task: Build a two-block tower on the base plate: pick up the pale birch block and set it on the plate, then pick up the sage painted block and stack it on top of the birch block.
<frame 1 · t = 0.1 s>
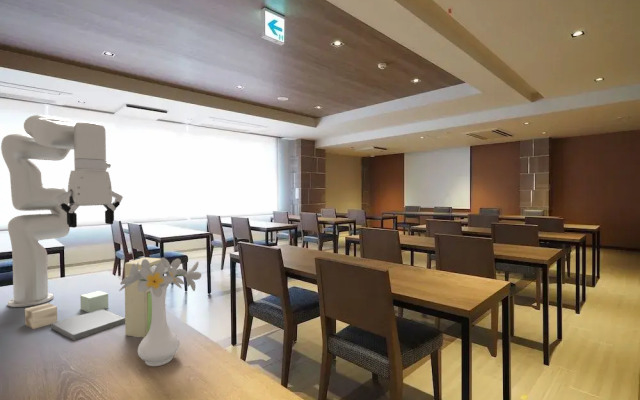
hand: (91, 225, 97), 31 cm above the table, tool pointing down, fingers open, 9 cm apart
sage block: (94, 308, 116), on the table
flower vase: (160, 359, 83), on the table
base plate: (89, 325, 102), on the table
toy refrigerator: (145, 331, 99), on the table
birch block: (41, 323, 103), on the table
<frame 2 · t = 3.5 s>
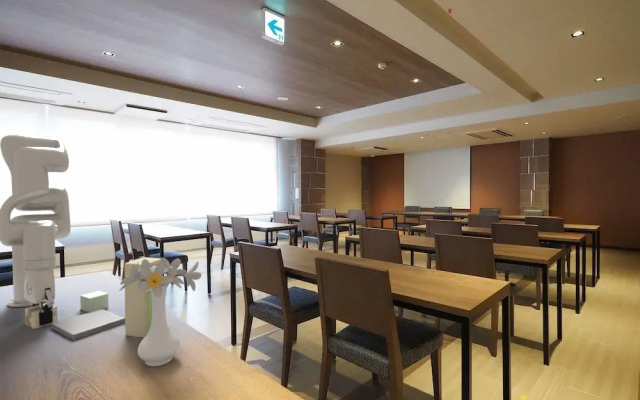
hand: (41, 321, 103), 1 cm above the table, tool pointing down, fingers closed on birch block, 6 cm apart
birch block: (41, 323, 103), on the table, touching gripper
everything else where it was.
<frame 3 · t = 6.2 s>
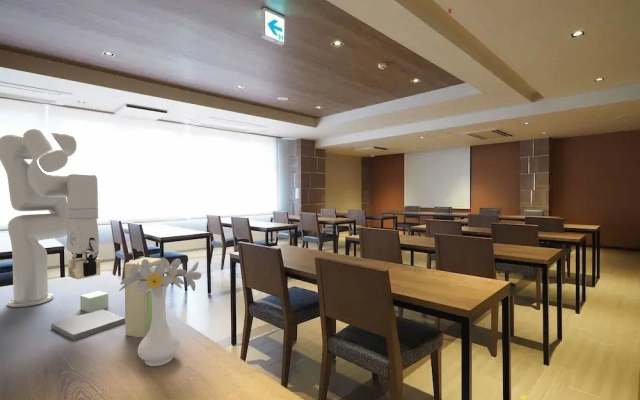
hand: (84, 273, 101), 16 cm above the table, tool pointing down, fingers closed on birch block, 6 cm apart
birch block: (84, 275, 101), point 15 cm above the table, touching gripper
everything else where it was.
when the fingers open (4 cm above the table, at t = 9.1 s): birch block drops 1 cm, resting on base plate.
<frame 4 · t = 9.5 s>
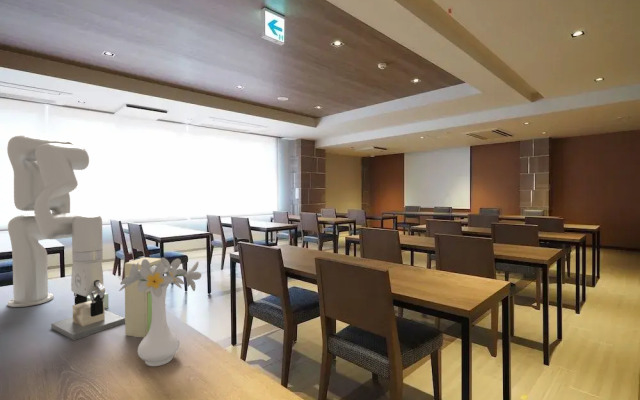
hand: (88, 311, 102), 4 cm above the table, tool pointing down, fingers open, 9 cm apart
birch block: (88, 320, 102), point 1 cm above the table, touching base plate
everything else where it was.
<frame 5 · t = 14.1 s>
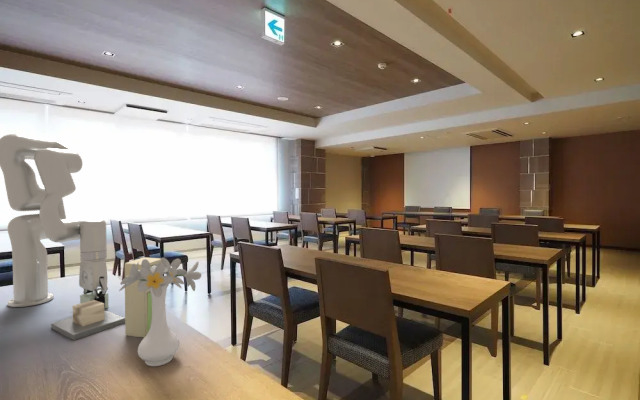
hand: (94, 306, 116), 1 cm above the table, tool pointing down, fingers closed on sage block, 6 cm apart
sage block: (94, 308, 116), on the table, touching gripper
everything else where it was.
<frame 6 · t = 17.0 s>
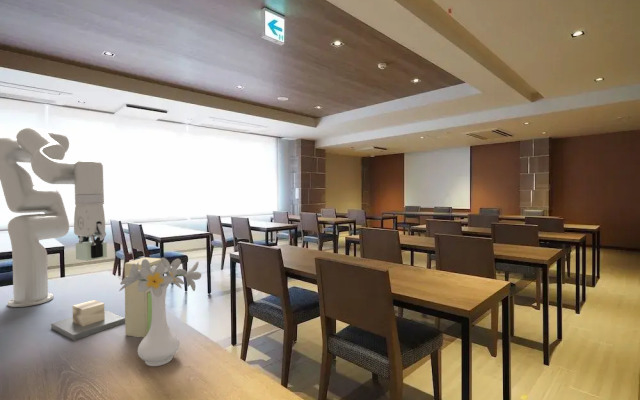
hand: (91, 255, 107), 20 cm above the table, tool pointing down, fingers closed on sage block, 6 cm apart
sage block: (91, 258, 107), point 20 cm above the table, touching gripper
everything else where it was.
when the fingers open (8 cm above the table, at t = 20.1 s): sage block stays where it is, resting on birch block.
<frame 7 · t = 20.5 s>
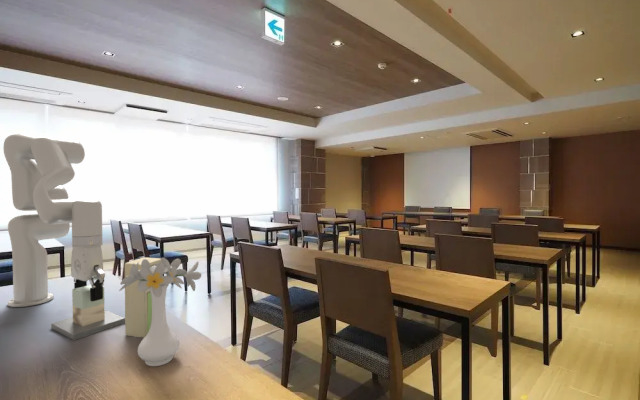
hand: (88, 297, 102), 9 cm above the table, tool pointing down, fingers open, 9 cm apart
sage block: (88, 304, 102), point 6 cm above the table, touching birch block
birch block: (88, 320, 102), point 1 cm above the table, touching base plate, sage block
everything else where it was.
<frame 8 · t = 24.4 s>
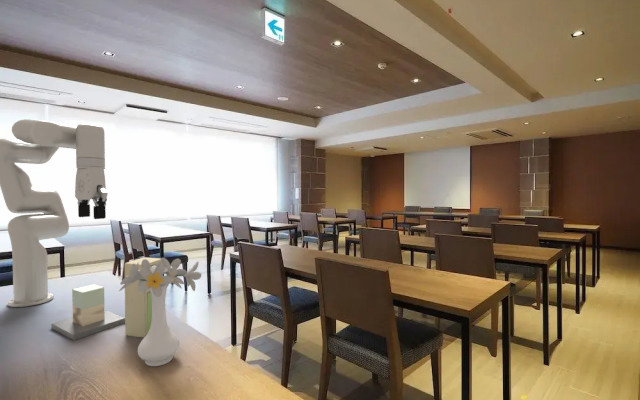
hand: (91, 217, 107), 32 cm above the table, tool pointing down, fingers open, 9 cm apart
nothing on the table moved.
at the end: birch block 0.0 cm off-centre on the base plate, point 1.5 cm above the base plate's base; sage block 0.1 cm off-centre on the birch block, point 5.0 cm above the birch block's base; the gripper is holding nothing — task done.
